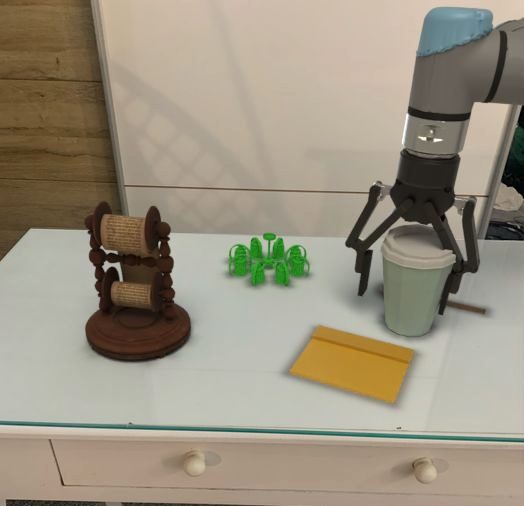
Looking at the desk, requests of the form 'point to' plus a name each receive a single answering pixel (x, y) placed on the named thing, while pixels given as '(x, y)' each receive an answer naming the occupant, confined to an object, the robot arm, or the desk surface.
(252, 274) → the chandelier
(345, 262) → the desk surface
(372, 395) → the envelope
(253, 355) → the desk surface
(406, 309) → the disposable coffee cup
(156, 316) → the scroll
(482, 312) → the spoon
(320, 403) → the desk surface
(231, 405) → the desk surface
